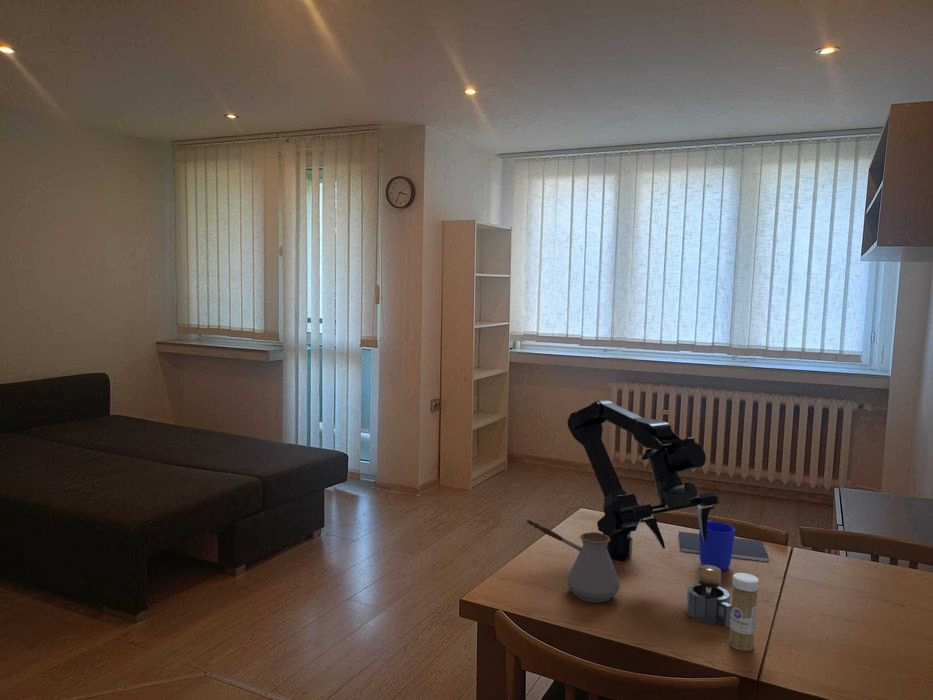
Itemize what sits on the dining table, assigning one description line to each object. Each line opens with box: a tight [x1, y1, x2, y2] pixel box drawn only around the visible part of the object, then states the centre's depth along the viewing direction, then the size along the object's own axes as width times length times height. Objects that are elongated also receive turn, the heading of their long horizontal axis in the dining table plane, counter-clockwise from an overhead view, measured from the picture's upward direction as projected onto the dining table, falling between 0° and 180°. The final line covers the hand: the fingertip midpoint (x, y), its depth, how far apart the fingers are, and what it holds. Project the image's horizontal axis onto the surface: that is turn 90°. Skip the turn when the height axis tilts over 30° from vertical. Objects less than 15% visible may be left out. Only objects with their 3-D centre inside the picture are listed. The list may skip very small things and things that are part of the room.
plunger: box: [697, 564, 722, 597], centre depth 142 cm, size 4×4×8 cm
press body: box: [685, 582, 732, 627], centre depth 142 cm, size 10×8×5 cm
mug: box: [698, 519, 736, 571], centre depth 170 cm, size 8×12×10 cm
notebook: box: [678, 531, 770, 562], centre depth 182 cm, size 13×2×21 cm
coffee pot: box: [523, 519, 621, 603], centre depth 151 cm, size 21×12×15 cm, turn 75°
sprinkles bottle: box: [728, 572, 760, 652], centre depth 130 cm, size 5×5×14 cm
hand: (684, 544), depth 156 cm, fingers open, 9 cm apart
